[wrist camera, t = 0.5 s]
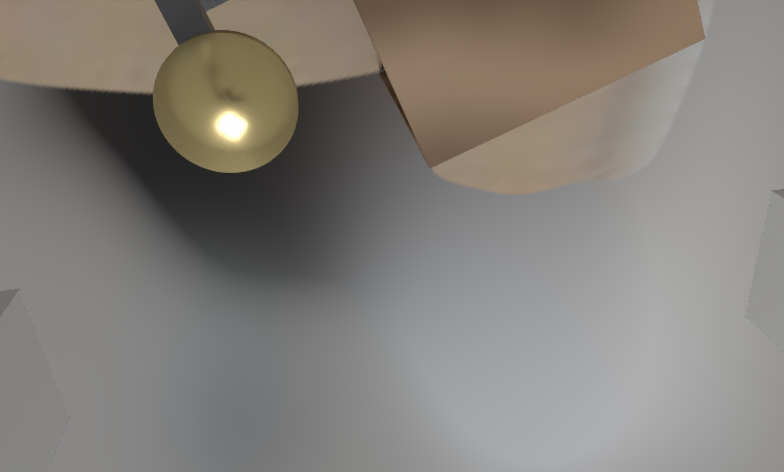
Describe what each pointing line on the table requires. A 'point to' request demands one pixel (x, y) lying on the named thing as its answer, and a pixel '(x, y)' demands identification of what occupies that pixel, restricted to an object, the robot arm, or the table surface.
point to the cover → (511, 58)
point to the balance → (222, 93)
